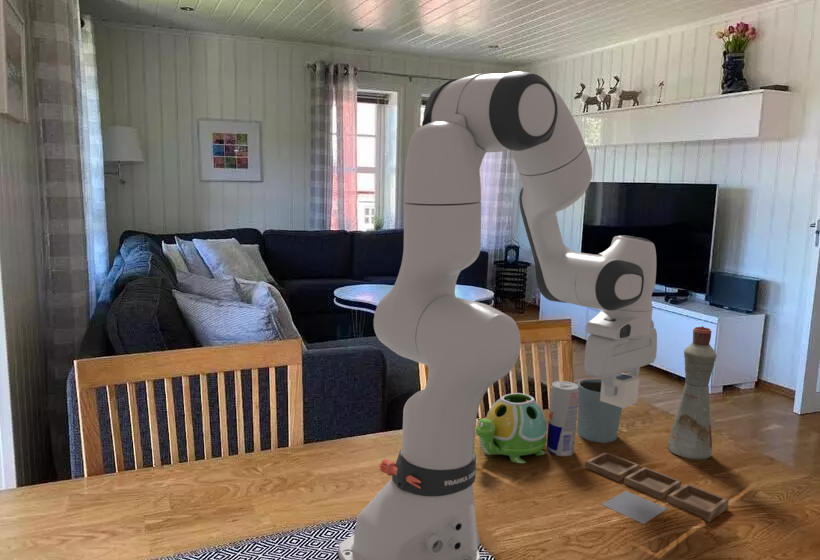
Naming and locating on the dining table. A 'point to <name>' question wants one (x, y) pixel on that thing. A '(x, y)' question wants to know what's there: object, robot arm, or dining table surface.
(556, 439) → the beverage can
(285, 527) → the dining table surface
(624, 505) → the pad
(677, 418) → the bottle
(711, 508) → the tray
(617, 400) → the white cube
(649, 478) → the tray
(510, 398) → the turtle holder
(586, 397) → the blue-grey plant pot
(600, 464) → the tray
